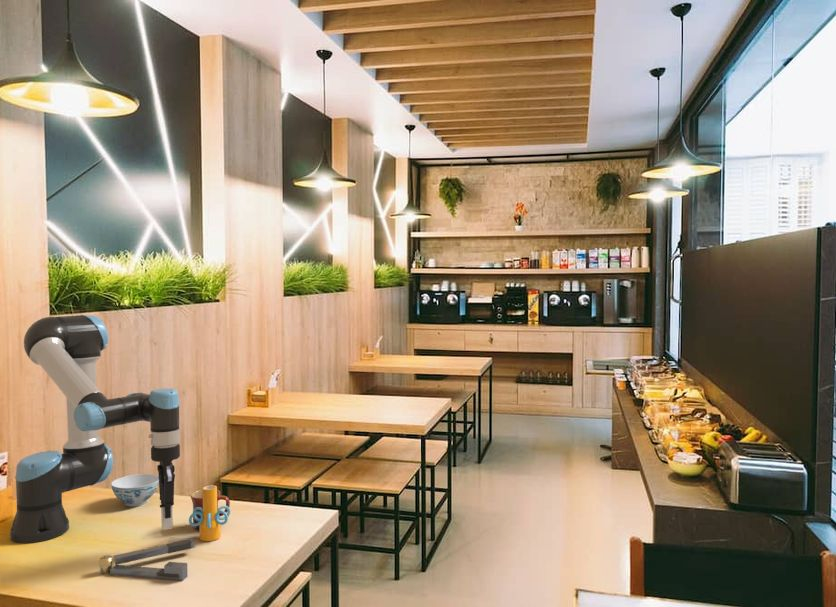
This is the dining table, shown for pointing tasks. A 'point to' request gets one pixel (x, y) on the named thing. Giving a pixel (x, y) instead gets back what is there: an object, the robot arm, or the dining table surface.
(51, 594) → the dining table surface
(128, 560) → the tongs arm
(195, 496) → the mug
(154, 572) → the tongs fixed
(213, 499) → the cylinder
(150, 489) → the chinaware
